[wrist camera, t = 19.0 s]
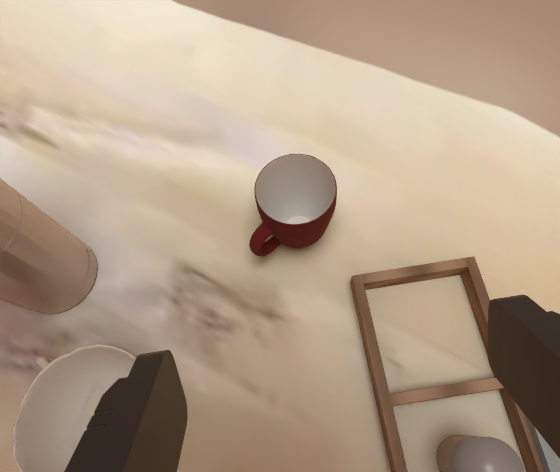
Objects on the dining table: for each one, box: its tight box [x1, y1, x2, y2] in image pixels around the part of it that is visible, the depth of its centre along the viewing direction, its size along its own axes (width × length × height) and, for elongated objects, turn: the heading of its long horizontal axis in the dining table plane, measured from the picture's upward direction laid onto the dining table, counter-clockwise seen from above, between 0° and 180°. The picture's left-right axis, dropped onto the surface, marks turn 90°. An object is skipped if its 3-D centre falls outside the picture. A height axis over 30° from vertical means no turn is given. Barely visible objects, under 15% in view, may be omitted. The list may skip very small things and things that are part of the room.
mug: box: [249, 154, 337, 256], centre depth 45 cm, size 10×8×10 cm
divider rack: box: [351, 257, 560, 472], centre depth 40 cm, size 14×25×4 cm, turn 8°
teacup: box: [13, 344, 136, 472], centre depth 40 cm, size 15×12×8 cm
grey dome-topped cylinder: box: [437, 435, 524, 472], centre depth 36 cm, size 4×4×8 cm
